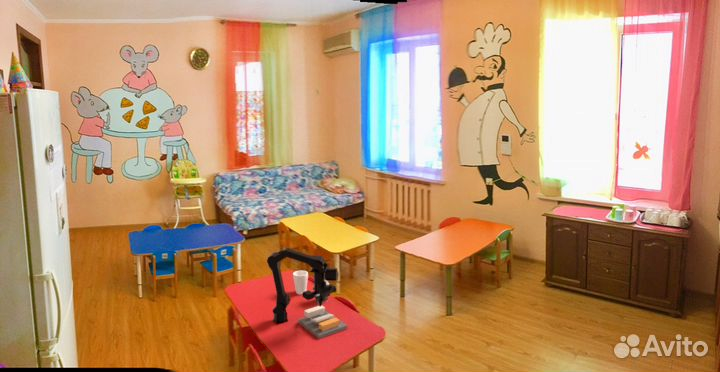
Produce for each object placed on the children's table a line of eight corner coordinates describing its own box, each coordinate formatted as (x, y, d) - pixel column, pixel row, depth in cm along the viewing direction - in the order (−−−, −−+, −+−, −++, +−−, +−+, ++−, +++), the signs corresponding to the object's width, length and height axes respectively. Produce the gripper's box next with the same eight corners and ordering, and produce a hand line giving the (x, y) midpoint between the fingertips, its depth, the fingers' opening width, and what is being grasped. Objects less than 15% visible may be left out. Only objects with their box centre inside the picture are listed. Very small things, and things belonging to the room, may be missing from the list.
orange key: (322, 331, 260) (322, 326, 260) (318, 328, 264) (318, 323, 263) (339, 325, 267) (339, 320, 266) (335, 322, 270) (335, 317, 269)
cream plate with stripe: (317, 322, 264) (316, 320, 264) (310, 320, 270) (310, 318, 270) (334, 316, 271) (333, 314, 271) (327, 314, 276) (327, 312, 276)
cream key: (308, 318, 272) (308, 313, 271) (304, 315, 275) (304, 310, 274) (325, 312, 278) (324, 307, 278) (321, 309, 281) (321, 305, 281)
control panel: (319, 339, 257) (318, 331, 256) (298, 322, 275) (298, 315, 274) (347, 328, 268) (347, 321, 267) (325, 313, 285) (325, 307, 284)
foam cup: (296, 296, 307) (295, 277, 305) (291, 291, 316) (290, 272, 313) (310, 293, 312) (310, 274, 309) (305, 288, 320) (304, 269, 317)
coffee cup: (325, 295, 309) (324, 277, 306) (333, 301, 301) (332, 282, 299) (312, 299, 303) (312, 281, 301) (320, 305, 296) (320, 286, 294)
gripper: (312, 288, 256) (312, 316, 259) (341, 280, 267) (342, 306, 270) (301, 282, 265) (302, 308, 268) (330, 273, 275) (331, 299, 279)
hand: (320, 306), depth 271 cm, fingers closed
